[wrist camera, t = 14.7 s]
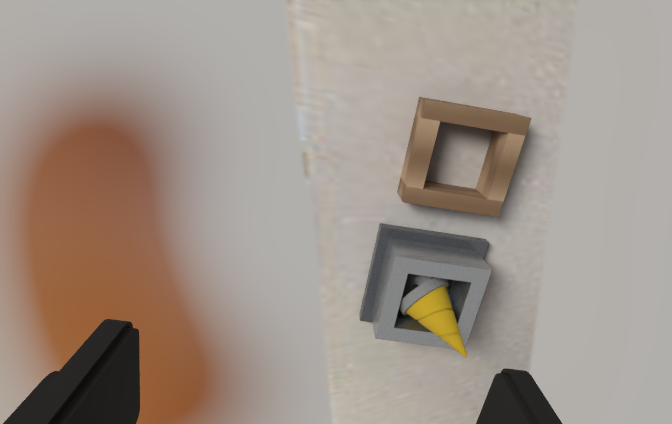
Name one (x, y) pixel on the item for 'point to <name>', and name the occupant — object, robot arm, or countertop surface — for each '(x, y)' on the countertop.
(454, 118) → the socket block
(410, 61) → the countertop surface
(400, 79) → the countertop surface
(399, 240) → the grey hollow square block
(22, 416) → the robot arm
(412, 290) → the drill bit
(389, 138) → the countertop surface
